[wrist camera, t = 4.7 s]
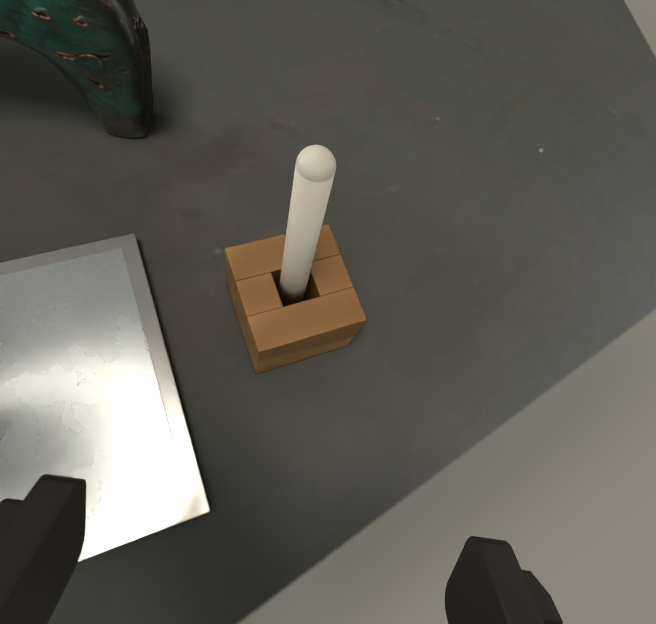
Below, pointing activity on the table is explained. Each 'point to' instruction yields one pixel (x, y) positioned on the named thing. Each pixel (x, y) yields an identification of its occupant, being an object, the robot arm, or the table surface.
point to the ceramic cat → (91, 53)
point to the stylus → (305, 219)
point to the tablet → (94, 392)
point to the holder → (297, 319)
